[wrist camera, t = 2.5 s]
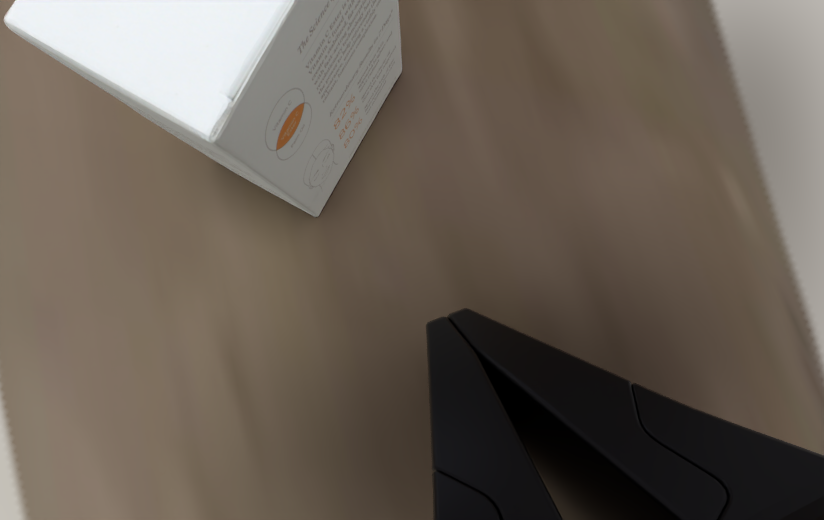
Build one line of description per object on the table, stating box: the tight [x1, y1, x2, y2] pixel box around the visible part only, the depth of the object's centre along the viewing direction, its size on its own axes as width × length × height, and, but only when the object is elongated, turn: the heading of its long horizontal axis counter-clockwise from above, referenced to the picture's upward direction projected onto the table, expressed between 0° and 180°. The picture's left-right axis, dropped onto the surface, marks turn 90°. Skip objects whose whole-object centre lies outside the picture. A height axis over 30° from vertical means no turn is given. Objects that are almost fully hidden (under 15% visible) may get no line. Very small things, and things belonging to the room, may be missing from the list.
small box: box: [4, 0, 402, 217], centre depth 15 cm, size 8×6×10 cm
